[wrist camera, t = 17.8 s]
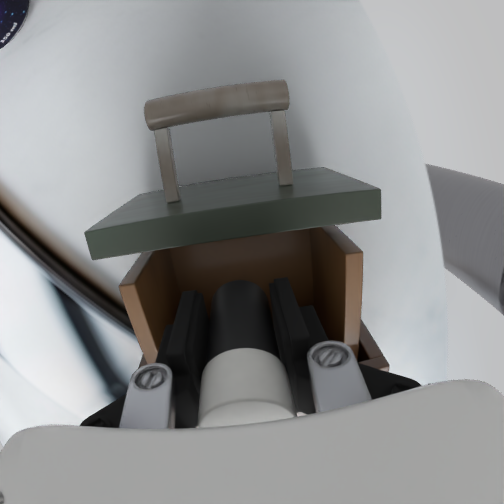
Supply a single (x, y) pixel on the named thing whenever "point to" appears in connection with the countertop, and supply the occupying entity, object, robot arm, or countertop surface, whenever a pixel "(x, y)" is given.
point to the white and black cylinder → (243, 361)
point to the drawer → (238, 225)
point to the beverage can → (11, 18)
